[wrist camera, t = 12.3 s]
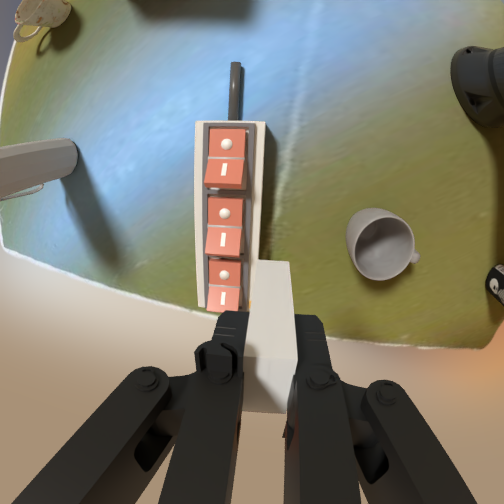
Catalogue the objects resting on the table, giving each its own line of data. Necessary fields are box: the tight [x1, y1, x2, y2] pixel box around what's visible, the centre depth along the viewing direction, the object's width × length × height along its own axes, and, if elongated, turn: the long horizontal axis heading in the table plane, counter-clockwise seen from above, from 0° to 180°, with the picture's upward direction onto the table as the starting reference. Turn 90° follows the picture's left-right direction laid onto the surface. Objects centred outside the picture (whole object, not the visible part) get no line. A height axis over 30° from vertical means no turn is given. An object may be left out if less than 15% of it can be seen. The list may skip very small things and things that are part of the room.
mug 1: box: [13, 0, 71, 42], centre depth 24 cm, size 8×13×10 cm, turn 125°
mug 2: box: [346, 208, 420, 280], centre depth 37 cm, size 12×9×10 cm
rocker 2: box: [207, 258, 241, 313], centre depth 40 cm, size 8×5×2 cm, turn 177°
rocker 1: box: [204, 129, 246, 189], centre depth 33 cm, size 8×5×2 cm, turn 177°
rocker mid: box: [205, 197, 243, 258], centre depth 37 cm, size 8×5×2 cm, turn 177°
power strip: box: [194, 62, 266, 312], centre depth 38 cm, size 37×9×5 cm, turn 177°
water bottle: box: [0, 138, 78, 201], centre depth 28 cm, size 9×8×25 cm
